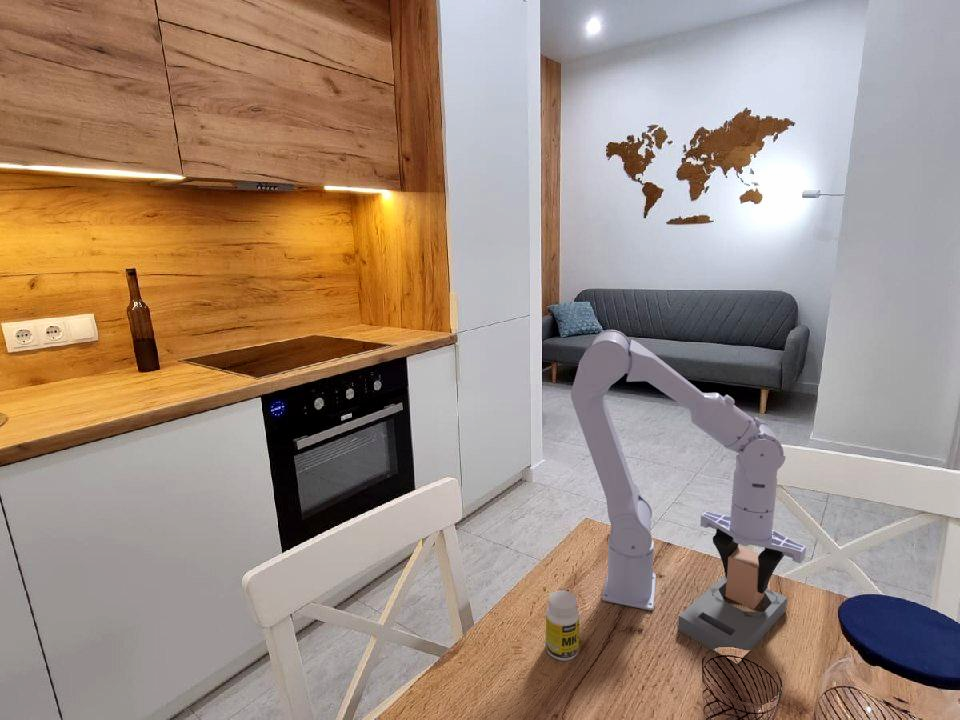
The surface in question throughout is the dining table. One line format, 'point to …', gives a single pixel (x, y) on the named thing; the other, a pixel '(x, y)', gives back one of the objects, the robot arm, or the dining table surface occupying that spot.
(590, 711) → the dining table surface
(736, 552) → the peg
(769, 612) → the socket board
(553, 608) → the supplement bottle
